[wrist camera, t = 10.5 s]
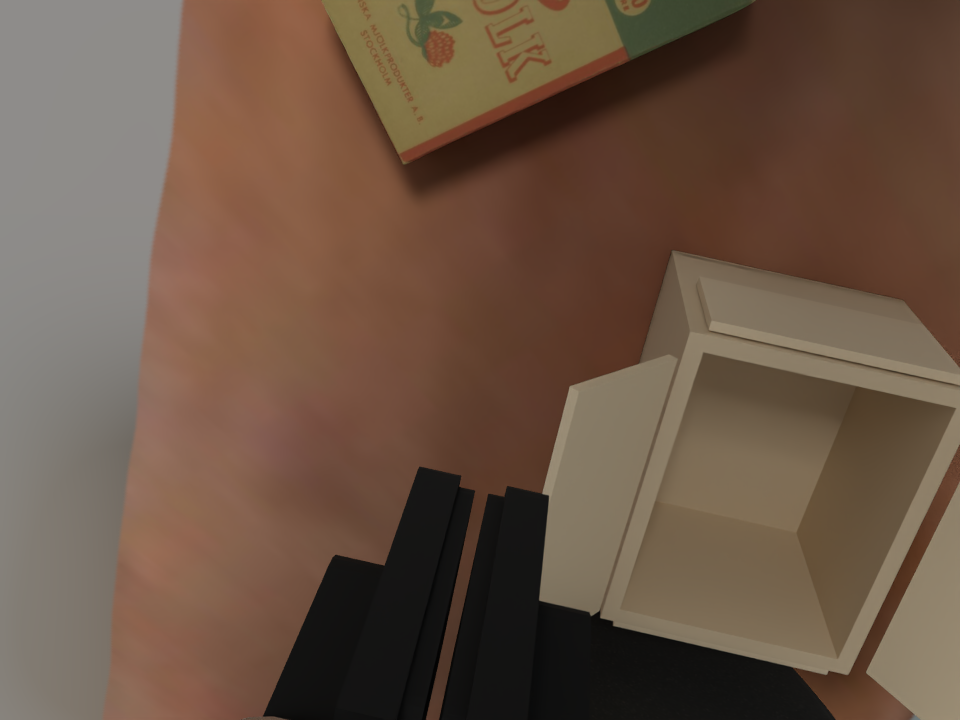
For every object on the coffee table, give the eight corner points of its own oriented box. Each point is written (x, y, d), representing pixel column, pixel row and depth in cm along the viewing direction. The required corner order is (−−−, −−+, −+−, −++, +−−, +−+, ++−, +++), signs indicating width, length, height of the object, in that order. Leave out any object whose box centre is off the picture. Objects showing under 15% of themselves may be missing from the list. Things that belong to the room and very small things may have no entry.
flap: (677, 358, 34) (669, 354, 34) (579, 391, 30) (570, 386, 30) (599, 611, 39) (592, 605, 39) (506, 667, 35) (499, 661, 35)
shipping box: (674, 239, 43) (693, 319, 34) (906, 290, 43) (988, 384, 34) (598, 501, 49) (597, 626, 40) (799, 546, 49) (843, 683, 40)
